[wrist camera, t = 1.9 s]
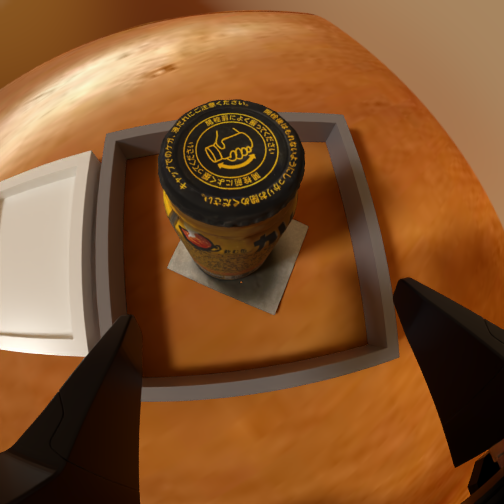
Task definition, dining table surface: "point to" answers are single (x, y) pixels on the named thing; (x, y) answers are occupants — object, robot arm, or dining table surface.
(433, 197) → the dining table surface
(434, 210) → the dining table surface
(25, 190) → the tray
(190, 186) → the condiment
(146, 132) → the gray square frame
